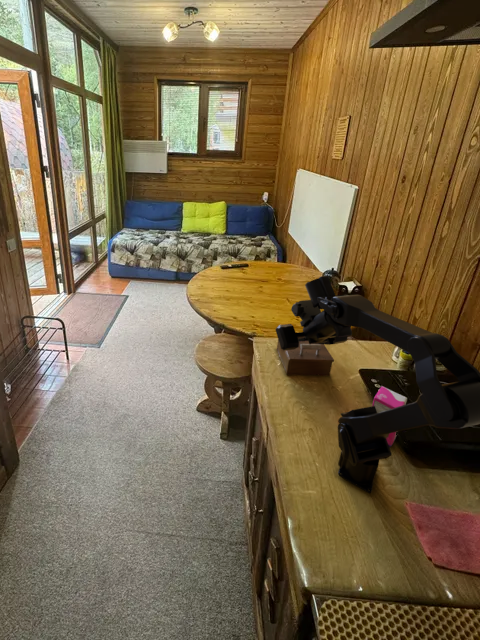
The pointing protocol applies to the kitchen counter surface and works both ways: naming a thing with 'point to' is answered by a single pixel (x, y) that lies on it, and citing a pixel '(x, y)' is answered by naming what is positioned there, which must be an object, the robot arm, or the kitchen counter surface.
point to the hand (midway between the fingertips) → (297, 343)
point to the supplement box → (388, 405)
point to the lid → (310, 353)
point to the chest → (303, 365)
